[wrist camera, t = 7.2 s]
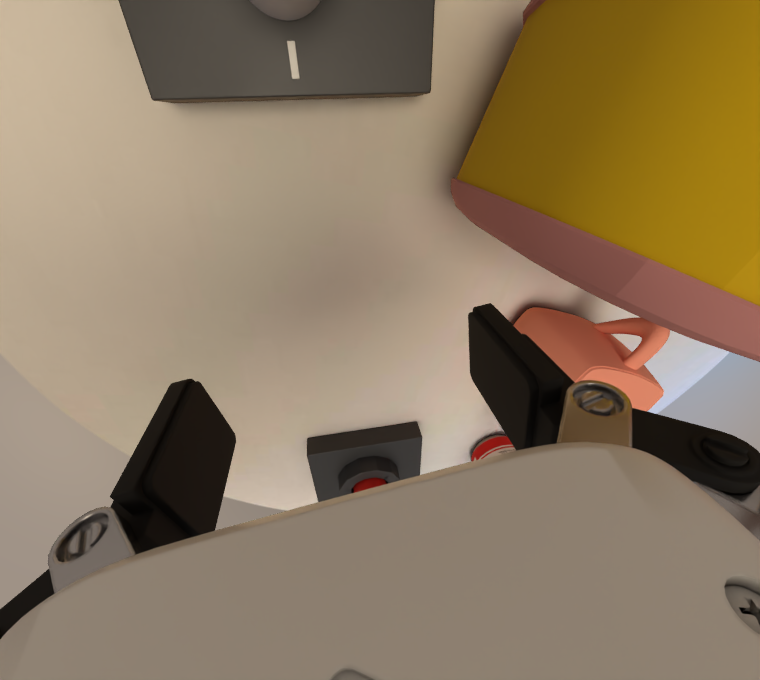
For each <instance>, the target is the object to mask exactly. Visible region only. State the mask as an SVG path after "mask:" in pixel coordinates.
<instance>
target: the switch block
mask: <svg viewBox="0 0 760 680" xmlns="http://www.w3.org/2000/svg"><path fill="white" fill-rule="evenodd" d="M421 446H422V435H421V432H420V430H419V427H418V424H417V422H412V423H405V424H399V425H392V426H386V427H379V428H372V429H366V430H359V431H353V432H346V433H340V434H333V435H327V436H320V437H314V438H308V439H307V457H308V461H309V465H310V470H311V474H312V478H313V482H314V486H315V490H316V494H317V498H318V502H322V501H325V500H329V499H333V498H336V497H340V496H344V495H348V494H351V493H354V485H355V484H356V483H358V482H360V481H362V480H364V479H369V478H381V479H384V480H385V481H386V484H388V483H392V482H396V481H400V480H404V479H407V478H411V477H415V476H419V475H420V462H421Z"/></svg>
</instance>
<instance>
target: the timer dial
mask: <svg viewBox="0 0 760 680" xmlns="http://www.w3.org/2000/svg"><path fill="white" fill-rule="evenodd" d="M249 1H250V2H251V3H252V4H253V5H254V6H256V7H257V8H258V9H259V10H260V11H262V12H263V13H265V14H267V15H268V16H271V17H273V18H276V19H279V20H286V21H290V20H297V19H300V18H302V17H304V16H306V15H308V14H309V13H311V12H312V11H313V10H314V9H315V8H316V6H317V5H318V4H319V2H320V1H321V0H249Z"/></svg>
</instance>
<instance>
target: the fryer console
mask: <svg viewBox="0 0 760 680" xmlns="http://www.w3.org/2000/svg"><path fill="white" fill-rule="evenodd" d="M119 3H120V6H121V9H122V12H123V15H124V18H125V21H126V24H127V27H128V30H129V33H130V36H131V39H132V42H133V45H134V48H135V51H136V53H137V56H138V59H139V62H140V65H141V68H142V71H143V74H144V77H145V80H146V83H147V86H148V89H149V92H150V95H151V98H152V100H154V101H162V102H170V103H196V102H232V101H268V100H303V99H339V98H375V97H411V96H419V95H423V94H427V93H430V91H431V71H432V49H433V27H434V4H435V0H321V1H320V2H319V4H318V5H317V6H316V8H315V9H314V10H313V11H312V12H311V13H309V14H308V15H306V16H304V17H302V18H300V19H297V20H290V21H286V20H279V19H276V18H273V17H271V16H268V15H267V14H265V13H263V12H262V11H260V10H259V9H258V8H257V7H256V6H254V5H253V4H252V3H251V2H250V1H249V0H119Z"/></svg>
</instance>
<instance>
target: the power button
mask: <svg viewBox="0 0 760 680" xmlns="http://www.w3.org/2000/svg"><path fill="white" fill-rule="evenodd" d="M385 484H386V481H385V480H384V479H381V478H369V479H364V480H362V481H360V482H358V483H356V484H355V485H354V493H355V492H359V491H362V490H366V489H370V488H374V487H377V486H381V485H385Z"/></svg>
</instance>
